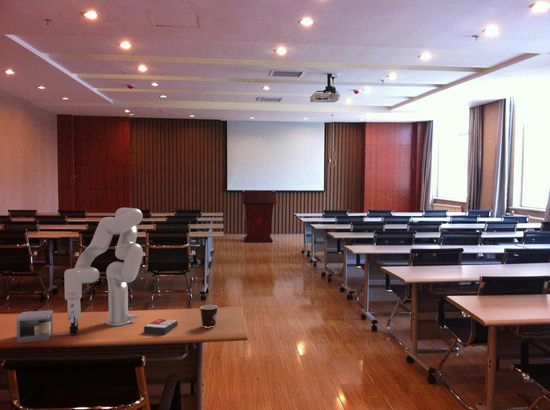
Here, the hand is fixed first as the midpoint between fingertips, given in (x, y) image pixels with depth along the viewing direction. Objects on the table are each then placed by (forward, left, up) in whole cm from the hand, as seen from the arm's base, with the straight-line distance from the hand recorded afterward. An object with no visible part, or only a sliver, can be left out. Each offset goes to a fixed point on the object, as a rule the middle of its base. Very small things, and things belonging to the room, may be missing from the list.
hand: (74, 332), depth 224 cm
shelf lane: (+16, 0, -1) cm, 16 cm away
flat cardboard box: (-40, +5, -2) cm, 41 cm away
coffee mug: (-65, +6, -1) cm, 66 cm away
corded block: (+8, 0, -1) cm, 8 cm away
